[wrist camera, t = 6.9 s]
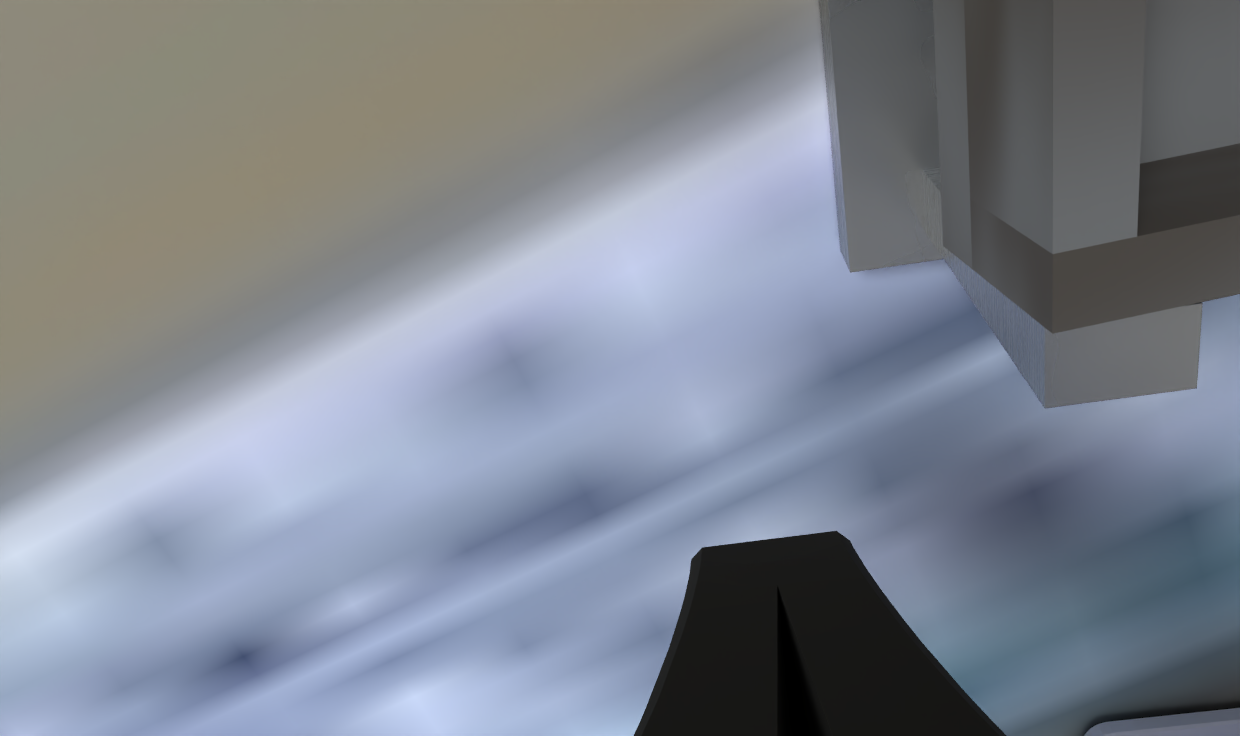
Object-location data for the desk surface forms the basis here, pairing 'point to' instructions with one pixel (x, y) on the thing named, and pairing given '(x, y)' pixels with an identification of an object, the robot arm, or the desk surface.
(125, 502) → the desk surface
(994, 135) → the chute lever
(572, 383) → the desk surface
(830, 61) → the chute stand
